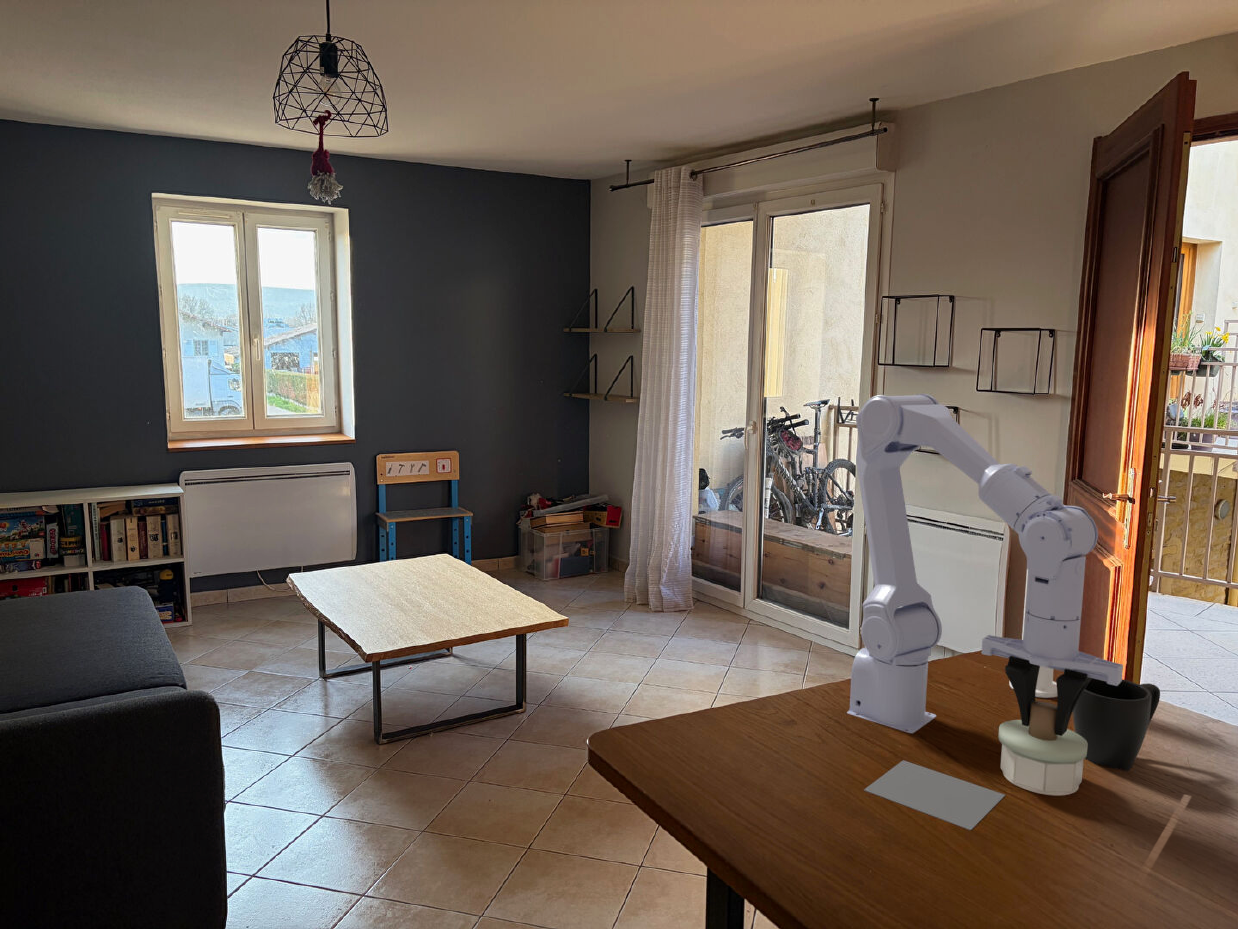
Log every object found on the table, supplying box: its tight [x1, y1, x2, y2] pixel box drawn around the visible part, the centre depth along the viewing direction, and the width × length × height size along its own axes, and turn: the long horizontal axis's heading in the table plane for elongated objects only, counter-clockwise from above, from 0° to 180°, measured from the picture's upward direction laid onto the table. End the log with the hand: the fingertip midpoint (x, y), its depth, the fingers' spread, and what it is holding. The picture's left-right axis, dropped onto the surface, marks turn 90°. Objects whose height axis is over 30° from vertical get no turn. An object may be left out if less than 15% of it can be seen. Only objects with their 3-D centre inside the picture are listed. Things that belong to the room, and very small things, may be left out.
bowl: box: [1000, 743, 1085, 796], centre depth 101 cm, size 8×8×4 cm
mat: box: [863, 759, 1006, 831], centre depth 98 cm, size 12×10×1 cm
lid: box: [998, 700, 1088, 763], centre depth 101 cm, size 9×9×5 cm
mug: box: [1072, 678, 1161, 772], centre depth 107 cm, size 8×12×10 cm
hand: (1044, 727), depth 101 cm, fingers closed on lid, 3 cm apart
